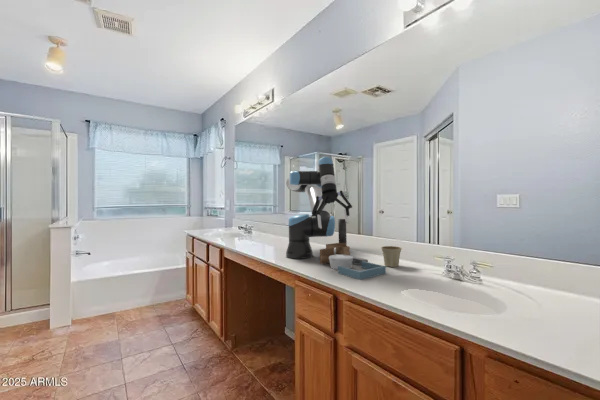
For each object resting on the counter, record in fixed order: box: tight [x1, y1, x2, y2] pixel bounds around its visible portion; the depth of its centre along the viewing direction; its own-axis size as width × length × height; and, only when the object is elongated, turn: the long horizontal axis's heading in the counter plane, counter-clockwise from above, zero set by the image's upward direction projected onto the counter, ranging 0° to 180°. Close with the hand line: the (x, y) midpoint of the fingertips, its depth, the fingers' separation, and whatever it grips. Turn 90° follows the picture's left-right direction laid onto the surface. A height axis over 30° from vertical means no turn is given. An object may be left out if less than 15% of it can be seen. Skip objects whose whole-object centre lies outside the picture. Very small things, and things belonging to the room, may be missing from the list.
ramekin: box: [329, 254, 353, 271], centre depth 136 cm, size 11×11×5 cm
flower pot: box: [380, 245, 403, 268], centre depth 137 cm, size 9×9×9 cm
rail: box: [336, 254, 369, 267], centre depth 145 cm, size 19×3×3 cm, turn 34°
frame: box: [337, 261, 387, 280], centre depth 125 cm, size 13×16×3 cm
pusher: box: [319, 218, 351, 265], centre depth 147 cm, size 6×16×21 cm, turn 124°
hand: (333, 225), depth 140 cm, fingers open, 13 cm apart
